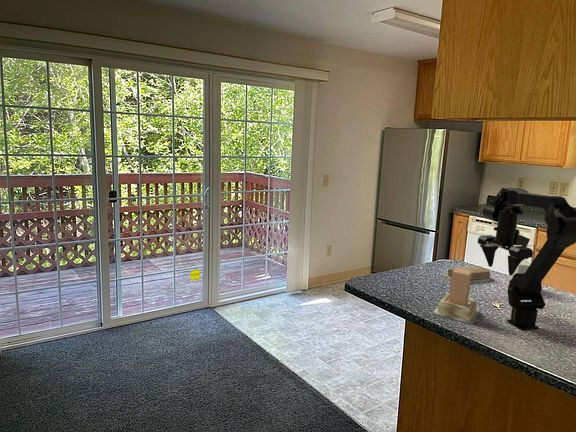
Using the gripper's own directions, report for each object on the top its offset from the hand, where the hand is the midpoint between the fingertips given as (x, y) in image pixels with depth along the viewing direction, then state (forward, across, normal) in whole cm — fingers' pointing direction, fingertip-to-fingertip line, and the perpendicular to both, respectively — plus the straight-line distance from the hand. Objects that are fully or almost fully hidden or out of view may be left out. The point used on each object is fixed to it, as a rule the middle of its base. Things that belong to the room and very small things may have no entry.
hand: (500, 270), depth 145 cm
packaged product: (+14, +27, -10) cm, 32 cm away
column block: (+10, -2, +17) cm, 20 cm away
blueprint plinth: (+13, -2, +17) cm, 21 cm away
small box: (+13, +14, -24) cm, 31 cm away
